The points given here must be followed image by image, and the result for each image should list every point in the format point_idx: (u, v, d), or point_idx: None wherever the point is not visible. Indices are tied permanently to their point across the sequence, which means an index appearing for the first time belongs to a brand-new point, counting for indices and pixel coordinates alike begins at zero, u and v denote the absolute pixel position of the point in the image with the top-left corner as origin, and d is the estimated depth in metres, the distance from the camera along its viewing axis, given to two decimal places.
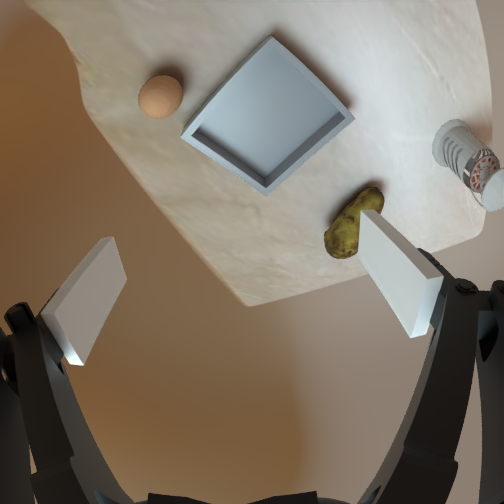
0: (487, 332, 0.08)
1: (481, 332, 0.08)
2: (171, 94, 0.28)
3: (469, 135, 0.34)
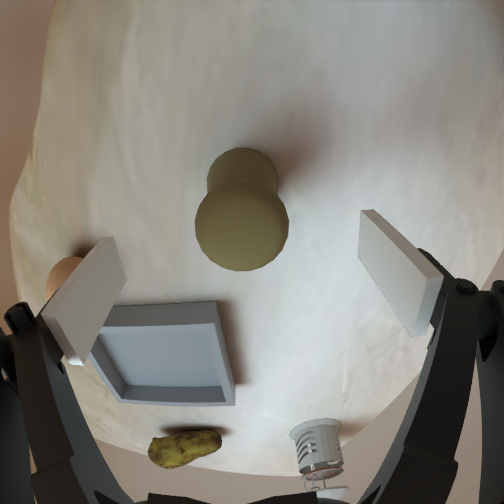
0: (487, 332, 0.08)
1: (481, 332, 0.08)
2: None
3: (332, 440, 0.41)
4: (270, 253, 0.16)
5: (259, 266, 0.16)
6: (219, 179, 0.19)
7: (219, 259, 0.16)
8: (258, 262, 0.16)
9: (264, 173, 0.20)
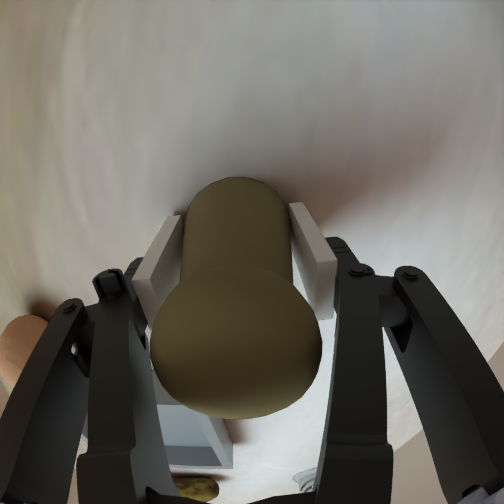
0: (392, 318, 0.09)
1: (384, 318, 0.09)
2: None
3: None
4: (287, 403, 0.08)
5: None
6: (196, 245, 0.11)
7: (196, 410, 0.08)
8: (266, 413, 0.08)
9: (273, 229, 0.12)
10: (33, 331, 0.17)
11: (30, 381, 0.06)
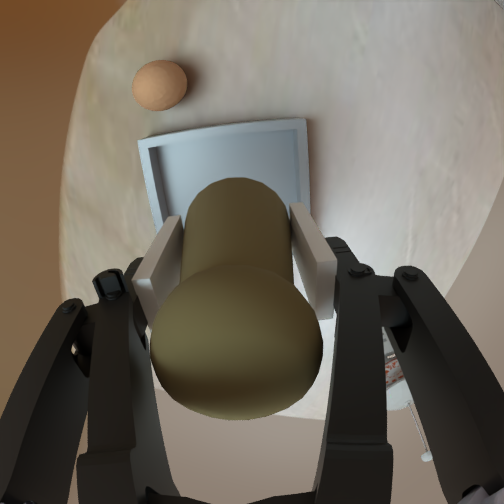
0: (392, 318, 0.09)
1: (384, 318, 0.09)
2: (171, 89, 0.23)
3: None
4: (288, 404, 0.08)
5: (268, 415, 0.08)
6: (196, 245, 0.11)
7: (197, 411, 0.08)
8: (266, 414, 0.08)
9: (273, 229, 0.12)
10: (176, 64, 0.24)
11: (30, 381, 0.06)
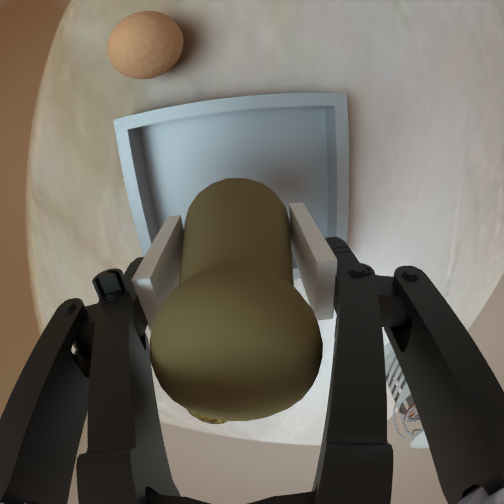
0: (392, 318, 0.09)
1: (384, 318, 0.09)
2: (160, 43, 0.14)
3: None
4: (288, 405, 0.08)
5: (267, 416, 0.08)
6: (196, 246, 0.11)
7: (196, 412, 0.08)
8: (266, 415, 0.08)
9: (273, 230, 0.12)
10: None
11: (30, 381, 0.06)
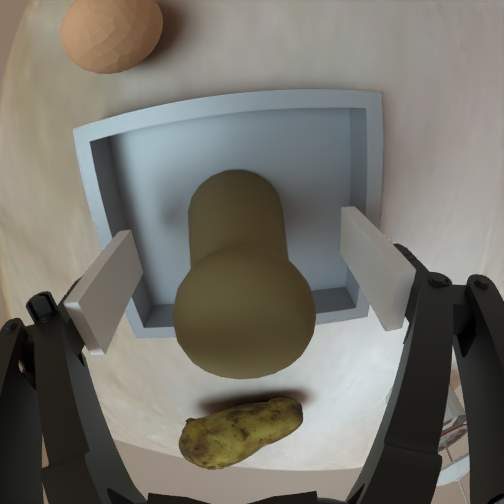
0: (463, 326, 0.08)
1: (457, 327, 0.08)
2: (127, 22, 0.09)
3: (451, 389, 0.26)
4: (290, 360, 0.10)
5: (272, 373, 0.10)
6: (204, 231, 0.13)
7: (214, 371, 0.10)
8: (272, 371, 0.10)
9: (269, 215, 0.14)
10: None
11: None
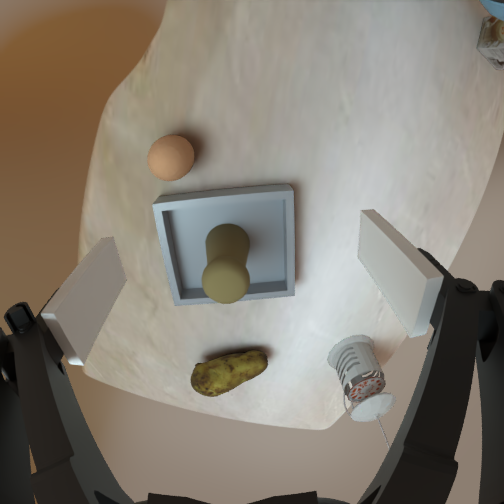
0: (487, 332, 0.08)
1: (481, 332, 0.08)
2: (182, 166, 0.30)
3: (371, 354, 0.47)
4: (240, 295, 0.31)
5: (235, 301, 0.31)
6: (213, 251, 0.34)
7: (214, 298, 0.31)
8: (234, 299, 0.31)
9: (239, 245, 0.35)
10: (185, 139, 0.31)
11: None
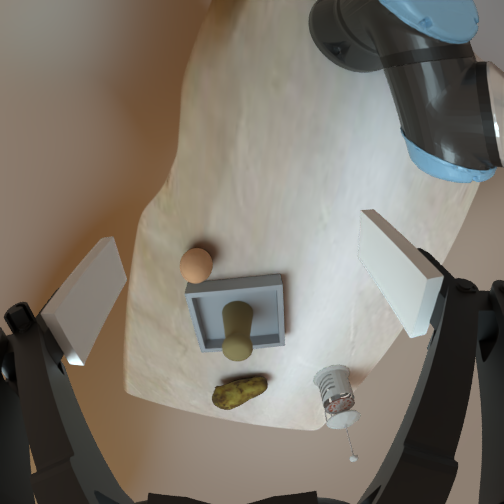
0: (487, 332, 0.08)
1: (481, 332, 0.08)
2: (206, 277, 0.46)
3: (345, 380, 0.63)
4: (246, 357, 0.47)
5: None
6: (228, 326, 0.50)
7: (230, 358, 0.47)
8: (243, 359, 0.47)
9: (245, 320, 0.51)
10: (205, 253, 0.47)
11: None
